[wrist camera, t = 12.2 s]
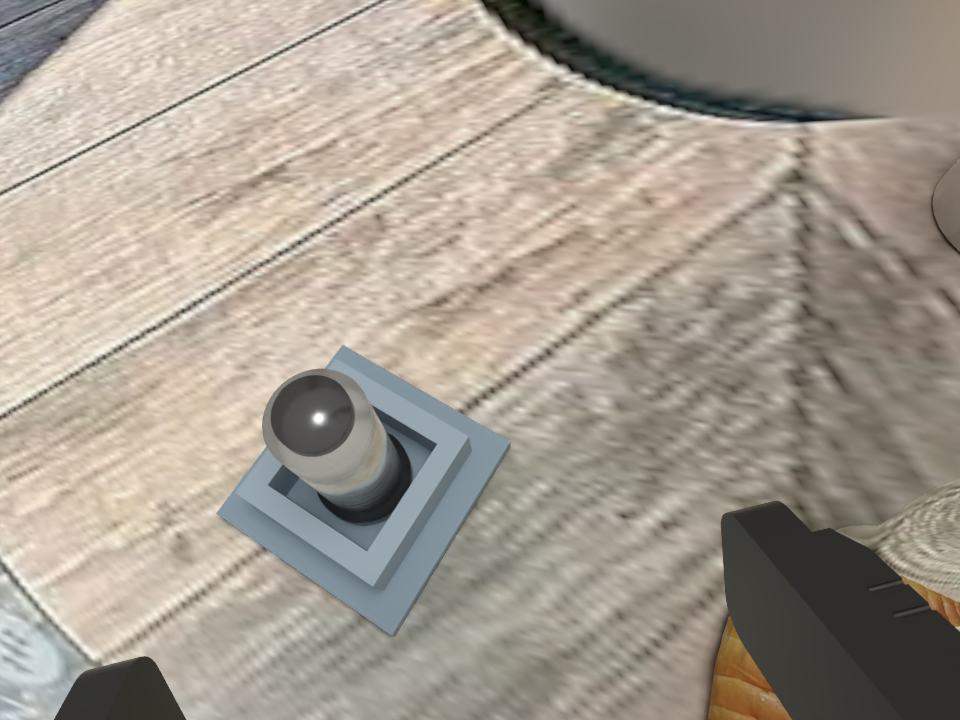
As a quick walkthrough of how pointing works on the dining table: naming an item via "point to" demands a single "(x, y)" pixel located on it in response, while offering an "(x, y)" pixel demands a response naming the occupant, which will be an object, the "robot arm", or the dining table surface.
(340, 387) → the thermos
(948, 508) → the beer glass
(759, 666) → the robot arm
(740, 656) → the pastry
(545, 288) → the dining table surface
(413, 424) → the dock
